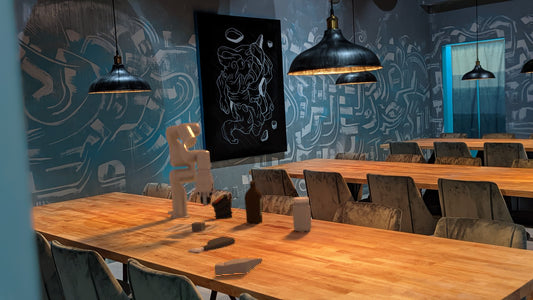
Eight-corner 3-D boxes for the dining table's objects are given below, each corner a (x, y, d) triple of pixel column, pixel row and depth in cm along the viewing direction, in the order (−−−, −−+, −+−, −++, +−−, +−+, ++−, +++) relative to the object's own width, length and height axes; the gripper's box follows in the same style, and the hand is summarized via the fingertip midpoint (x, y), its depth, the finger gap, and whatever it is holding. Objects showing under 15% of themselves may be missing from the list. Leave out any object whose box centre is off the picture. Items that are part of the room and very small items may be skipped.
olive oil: (245, 224, 325) (243, 182, 323) (245, 220, 336) (243, 180, 334) (263, 223, 326) (261, 181, 324) (263, 220, 336) (261, 179, 334)
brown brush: (237, 243, 280) (201, 255, 261) (221, 241, 287) (186, 252, 268) (236, 238, 280) (201, 249, 261) (221, 235, 287) (186, 246, 268)
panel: (161, 233, 312) (161, 231, 312) (178, 225, 330) (178, 223, 330) (205, 234, 302) (205, 232, 302) (220, 227, 321) (220, 225, 321)
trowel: (248, 259, 249) (248, 247, 249) (275, 264, 239) (274, 252, 238) (203, 275, 228) (202, 262, 228) (230, 281, 218) (229, 268, 217)
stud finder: (191, 230, 308) (191, 222, 308) (196, 228, 313) (195, 220, 313) (201, 231, 306) (201, 223, 306) (205, 229, 311) (205, 221, 311)
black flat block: (236, 214, 351) (227, 194, 346) (221, 225, 344) (211, 206, 339) (233, 213, 354) (223, 193, 349) (218, 225, 347) (208, 205, 342)
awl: (201, 205, 317) (201, 191, 317) (204, 204, 321) (203, 190, 320) (207, 205, 316) (206, 191, 316) (209, 204, 319) (209, 190, 319)
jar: (310, 232, 297) (308, 199, 296) (292, 232, 299) (291, 199, 298) (312, 228, 306) (311, 196, 305) (295, 228, 308) (293, 196, 307)
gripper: (188, 172, 316) (190, 204, 318) (214, 172, 311) (215, 204, 312) (194, 171, 324) (196, 202, 325) (219, 171, 318) (221, 202, 319)
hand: (205, 203), depth 318 cm, fingers closed on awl, 3 cm apart
